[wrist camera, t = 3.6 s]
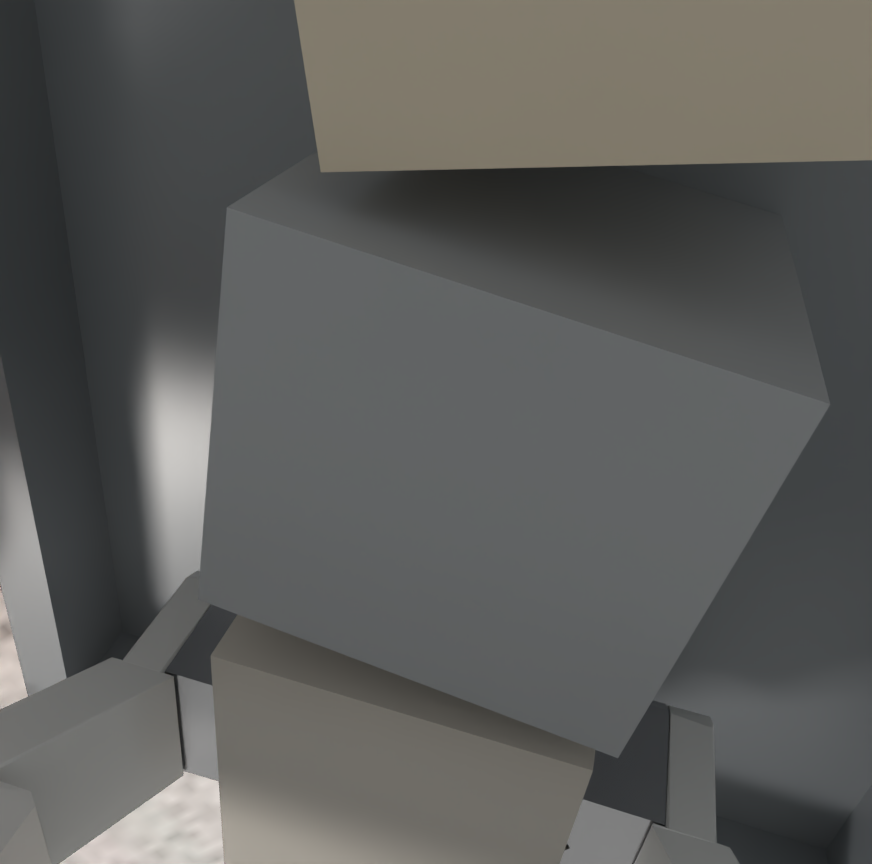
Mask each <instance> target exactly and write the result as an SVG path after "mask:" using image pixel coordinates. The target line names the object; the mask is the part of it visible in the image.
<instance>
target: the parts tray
mask: <svg viewBox="0 0 872 864" xmlns="http://www.w3.org/2000/svg"><path fill="white" fill-rule="evenodd" d="M316 151H317V145H316V138H315V132H314V126H313V119H312V113H311V106H310V100H309V93H308V87H307V81H306V74H305V68H304V61H303V55H302V48H301V42H300V36H299V29H298V23H297V16H296V10H295V3H294V0H0V585H1V589H2V593H3V597H4V601H5V605H6V609H7V613H8V617H9V621H10V625H11V629H12V633H13V637H14V641H15V645H16V649H17V653H18V657H19V661H20V665H21V669H22V673H23V678H24V682H25V686H26V690H27V694H28V696H30V695H33V694H35V693H37V692H39V691H41V690H43V689H45V688H47V687H50V686H52V685H54V684H56V683H58V682H60V681H62V680H64V679H67V678H69V677H71V676H73V675H75V674H77V673H79V672H81V671H84V670H86V669H88V668H90V667H92V666H94V665H96V664H99V663H101V662H103V661H105V660H107V659H109V658H111V657H113V658H117V659H121V660H123V659H124V658H125V656H126V655H127V654H128V652H129V651H130V650H131V649H132V647H133V646H134V645H135V643H136V642H137V641H138V639H139V638H140V637H141V636H142V634H143V633H144V632H145V630H146V629H147V628H148V626H149V625H150V624H151V623H152V621H153V620H154V619H155V617H156V616H157V615H158V614H159V612H160V611H161V610H162V608H163V607H164V606H165V604H166V603H167V602H168V601H169V599H170V598H171V597H172V595H173V594H174V593H175V591H176V590H177V589H178V588H179V586H180V585H181V584H182V582H183V581H184V580H185V578H187V577H188V576H190V575H191V574H193V573H194V572H196V571H197V570H198V571H200V563H201V550H202V536H203V523H204V509H205V496H206V482H207V469H208V455H209V442H210V428H211V415H212V401H213V388H214V374H215V361H216V347H217V334H218V320H219V307H220V294H221V280H222V267H223V253H224V240H225V226H226V213H227V207H228V206H230V205H231V204H233V203H235V202H236V201H238V200H239V199H241V198H243V197H244V196H246V195H247V194H249V193H251V192H252V191H254V190H255V189H257V188H259V187H260V186H262V185H263V184H265V183H267V182H268V181H270V180H271V179H273V178H275V177H276V176H278V175H279V174H281V173H282V172H284V171H286V170H287V169H289V168H290V167H292V166H294V165H295V164H297V163H298V162H300V161H302V160H303V159H305V158H306V157H308V156H310V155H311V154H313V153H314V152H316ZM621 167H624V168H628V169H631V170H634V171H638V172H641V173H644V174H647V175H651V176H654V177H657V178H661V179H664V180H667V181H670V182H674V183H677V184H680V185H683V186H687V187H690V188H693V189H697V190H700V191H703V192H706V193H710V194H713V195H716V196H719V197H723V198H726V199H729V200H733V201H736V202H739V203H742V204H746V205H749V206H752V207H756V208H759V209H762V210H765V211H769V212H772V213H775V214H778V215H782V218H783V222H784V226H785V230H786V234H787V238H788V242H789V246H790V250H791V253H792V257H793V261H794V265H795V269H796V273H797V277H798V281H799V284H800V288H801V292H802V296H803V300H804V304H805V308H806V312H807V315H808V319H809V323H810V327H811V331H812V335H813V339H814V343H815V347H816V350H817V354H818V358H819V362H820V366H821V370H822V374H823V378H824V381H825V385H826V389H827V393H828V397H829V401H830V406H829V407H828V409H827V411H826V412H825V414H824V416H823V417H822V419H821V421H820V422H819V424H818V426H817V427H816V429H815V431H814V432H813V434H812V436H811V437H810V439H809V441H808V442H807V444H806V446H805V447H804V449H803V451H802V452H801V454H800V456H799V457H798V459H797V461H796V462H795V464H794V466H793V467H792V469H791V471H790V472H789V474H788V476H787V477H786V479H785V481H784V482H783V484H782V486H781V487H780V489H779V491H778V492H777V494H776V496H775V497H774V499H773V501H772V502H771V504H770V506H769V507H768V509H767V511H766V512H765V514H764V516H763V517H762V519H761V521H760V522H759V524H758V526H757V527H756V529H755V531H754V532H753V534H752V536H751V537H750V539H749V541H748V542H747V544H746V546H745V547H744V549H743V551H742V552H741V554H740V556H739V557H738V559H737V561H736V562H735V564H734V566H733V567H732V569H731V571H730V572H729V574H728V576H727V577H726V579H725V581H724V582H723V584H722V586H721V587H720V589H719V591H718V592H717V594H716V596H715V597H714V599H713V601H712V602H711V604H710V606H709V607H708V609H707V611H706V612H705V614H704V616H703V617H702V619H701V621H700V622H699V624H698V626H697V627H696V629H695V631H694V632H693V634H692V636H691V637H690V639H689V641H688V642H687V644H686V646H685V647H684V649H683V651H682V652H681V654H680V656H679V657H678V659H677V661H676V662H675V664H674V666H673V667H672V669H671V671H670V672H669V674H668V676H667V677H666V679H665V681H664V682H663V684H662V686H661V687H660V689H659V691H658V692H657V694H656V696H655V697H654V699H653V700H654V701H657V702H661V703H665V704H666V705H667V706H668V705H670V706H674V707H677V708H681V709H684V710H688V711H691V712H695V713H698V714H702V715H706V716H709V717H710V718H711V720H712V722H713V724H714V754H715V796H716V838H717V843H718V844H721V845H724V846H727V847H730V849H731V850H732V852H733V854H734V855H735V857H736V858H737V860H738V862H739V863H740V864H872V160H857V161H812V162H766V163H721V164H675V165H630V166H621Z"/></svg>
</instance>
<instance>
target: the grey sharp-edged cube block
mask: <svg viewBox="0 0 872 864" xmlns="http://www.w3.org/2000/svg"><path fill="white" fill-rule="evenodd" d="M829 406H830V401H829V397H828V393H827V389H826V385H825V381H824V378H823V374H822V370H821V366H820V362H819V358H818V354H817V350H816V347H815V343H814V339H813V335H812V331H811V327H810V323H809V319H808V315H807V312H806V308H805V304H804V300H803V296H802V292H801V288H800V284H799V281H798V277H797V273H796V269H795V265H794V261H793V257H792V253H791V250H790V246H789V242H788V238H787V234H786V230H785V226H784V222H783V218H782V215H778V214H775V213H772V212H769V211H765V210H762V209H759V208H756V207H752V206H749V205H746V204H742V203H739V202H736V201H733V200H729V199H726V198H723V197H719V196H716V195H713V194H710V193H706V192H703V191H700V190H697V189H693V188H690V187H687V186H683V185H680V184H677V183H674V182H670V181H667V180H664V179H661V178H657V177H654V176H651V175H647V174H644V173H641V172H638V171H634V170H631V169H628V168H624V167H621V166H584V167H539V168H493V169H448V170H402V171H356V172H321V171H320V164H319V158H318V151H316V152H314V153H313V154H311V155H310V156H308V157H306V158H305V159H303V160H302V161H300V162H298V163H297V164H295V165H294V166H292V167H290V168H289V169H287V170H286V171H284V172H282V173H281V174H279V175H278V176H276V177H275V178H273V179H271V180H270V181H268V182H267V183H265V184H263V185H262V186H260V187H259V188H257V189H255V190H254V191H252V192H251V193H249V194H247V195H246V196H244V197H243V198H241V199H239V200H238V201H236V202H235V203H233V204H231V205H230V206H228V207H227V213H226V226H225V240H224V253H223V267H222V280H221V294H220V307H219V320H218V334H217V347H216V361H215V374H214V388H213V401H212V415H211V428H210V442H209V455H208V469H207V482H206V496H205V509H204V523H203V536H202V550H201V563H200V577H199V590H198V600H201V601H203V602H206V603H209V604H211V605H214V606H217V607H219V608H222V609H225V610H227V611H230V612H233V613H235V614H238V615H240V616H243V617H246V618H248V619H251V620H254V621H256V622H259V623H262V624H264V625H267V626H270V627H272V628H275V629H277V630H280V631H283V632H285V633H288V634H291V635H293V636H296V637H299V638H301V639H304V640H307V641H309V642H312V643H314V644H317V645H320V646H322V647H325V648H328V649H330V650H333V651H336V652H338V653H341V654H344V655H346V656H349V657H351V658H354V659H357V660H359V661H362V662H365V663H367V664H370V665H373V666H375V667H378V668H381V669H383V670H386V671H389V672H391V673H394V674H396V675H399V676H402V677H404V678H407V679H410V680H412V681H415V682H418V683H420V684H423V685H426V686H428V687H431V688H433V689H436V690H439V691H441V692H444V693H447V694H449V695H452V696H455V697H457V698H460V699H463V700H465V701H468V702H470V703H473V704H476V705H478V706H481V707H484V708H486V709H489V710H492V711H494V712H497V713H500V714H502V715H505V716H507V717H510V718H513V719H515V720H518V721H521V722H523V723H526V724H529V725H531V726H534V727H537V728H539V729H542V730H544V731H547V732H550V733H552V734H555V735H558V736H560V737H563V738H566V739H568V740H571V741H574V742H576V743H579V744H581V745H584V746H587V747H589V748H592V749H595V750H597V751H600V752H603V753H605V754H608V755H611V756H613V757H616V758H618V757H619V756H620V754H621V752H622V751H623V749H624V747H625V746H626V744H627V742H628V741H629V739H630V737H631V736H632V734H633V732H634V731H635V729H636V727H637V726H638V724H639V722H640V721H641V719H642V717H643V716H644V714H645V712H646V711H647V709H648V707H649V706H650V704H651V702H652V701H653V699H654V697H655V696H656V694H657V692H658V691H659V689H660V687H661V686H662V684H663V682H664V681H665V679H666V677H667V676H668V674H669V672H670V671H671V669H672V667H673V666H674V664H675V662H676V661H677V659H678V657H679V656H680V654H681V652H682V651H683V649H684V647H685V646H686V644H687V642H688V641H689V639H690V637H691V636H692V634H693V632H694V631H695V629H696V627H697V626H698V624H699V622H700V621H701V619H702V617H703V616H704V614H705V612H706V611H707V609H708V607H709V606H710V604H711V602H712V601H713V599H714V597H715V596H716V594H717V592H718V591H719V589H720V587H721V586H722V584H723V582H724V581H725V579H726V577H727V576H728V574H729V572H730V571H731V569H732V567H733V566H734V564H735V562H736V561H737V559H738V557H739V556H740V554H741V552H742V551H743V549H744V547H745V546H746V544H747V542H748V541H749V539H750V537H751V536H752V534H753V532H754V531H755V529H756V527H757V526H758V524H759V522H760V521H761V519H762V517H763V516H764V514H765V512H766V511H767V509H768V507H769V506H770V504H771V502H772V501H773V499H774V497H775V496H776V494H777V492H778V491H779V489H780V487H781V486H782V484H783V482H784V481H785V479H786V477H787V476H788V474H789V472H790V471H791V469H792V467H793V466H794V464H795V462H796V461H797V459H798V457H799V456H800V454H801V452H802V451H803V449H804V447H805V446H806V444H807V442H808V441H809V439H810V437H811V436H812V434H813V432H814V431H815V429H816V427H817V426H818V424H819V422H820V421H821V419H822V417H823V416H824V414H825V412H826V411H827V409H828V407H829Z"/></svg>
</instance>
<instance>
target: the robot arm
mask: <svg viewBox="0 0 872 864" xmlns="http://www.w3.org/2000/svg"><path fill="white" fill-rule="evenodd" d="M199 577H200V571H198V570H197V571H196V572H194V573H193V574H191V575H190V576H188V577H187V578H185V580H184V581H183V582H182V584H181V585H180V586H179V588H178V589H177V590H176V591H175V593H174V594H173V595H172V597H171V598H170V599H169V601H168V602H167V603H166V604H165V606H164V607H163V608H162V610H161V611H160V612H159V614H158V615H157V616H156V617H155V619H154V620H153V621H152V623H151V624H150V625H149V626H148V628H147V629H146V630H145V632H144V633H143V634H142V636H141V637H140V638H139V639H138V641H137V642H136V643H135V645H134V646H133V647H132V649H131V650H130V651H129V652H128V654H127V655H126V656H125V658H124V659H123V660H121V659H117V658H113V657H111V658H109V659H107V660H105V661H103V662H101V663H99V664H96V665H94V666H92V667H90V668H88V669H86V670H84V671H81V672H79V673H77V674H75V675H73V676H71V677H69V678H67V679H64V680H62V681H60V682H58V683H56V684H54V685H52V686H50V687H47V688H45V689H43V690H41V691H39V692H37V693H35V694H33V695H30V696H28V697H26V698H24V699H22V700H20V701H18V702H15V703H13V704H11V705H9V706H7V707H5V708H3V709H1V710H0V864H59V863H60V862H62V861H63V860H65V859H66V858H67V857H69V856H70V855H72V854H73V853H74V852H76V851H77V850H79V849H80V848H81V847H83V846H84V845H86V844H87V843H89V842H90V841H91V840H93V839H94V838H96V837H97V836H98V835H100V834H101V833H103V832H104V831H105V830H107V829H108V828H110V827H111V826H112V825H114V824H115V823H117V822H118V821H120V820H121V819H122V818H124V817H125V816H127V815H128V814H129V813H131V812H132V811H134V810H135V809H136V808H138V807H139V806H141V805H142V804H143V803H145V802H146V801H148V800H149V799H151V798H152V797H153V796H155V795H156V794H158V793H159V792H160V791H162V790H163V789H165V788H166V787H167V786H169V785H170V784H172V783H173V782H175V781H176V780H177V779H179V778H180V777H182V776H183V771H186V772H189V773H193V774H196V775H199V776H203V777H206V778H210V779H213V780H216V781H219V776H218V761H217V746H216V731H215V716H214V701H213V686H212V671H211V654H212V653H213V651H214V650H215V648H216V647H217V645H218V644H219V642H220V640H221V639H222V637H223V636H224V634H225V633H226V631H227V630H228V628H229V627H230V625H231V624H232V622H233V621H234V619H235V617H236V616H237V614H235V613H233V612H230V611H227V610H225V609H222V608H219V607H217V606H214V605H211V604H209V603H206V602H203V601H201V600H198V590H199ZM560 864H740V863H739V862H738V860H737V858H736V857H735V855H734V854H733V852H732V850H731V849H730V847H727V846H724V845H721V844H718V843H717V838H716V796H715V754H714V724H713V722H712V720H711V718H710V717H709V716H706V715H702V714H698V713H695V712H691V711H688V710H684V709H681V708H677V707H674V706H670V705H668V706H667V705H666V704H665V703H661V702H657V701H654V700H653V701H652V702H651V704H650V706H649V707H648V709H647V711H646V712H645V714H644V716H643V717H642V719H641V721H640V722H639V724H638V726H637V727H636V729H635V731H634V732H633V734H632V736H631V737H630V739H629V741H628V742H627V744H626V746H625V747H624V749H623V751H622V752H621V754H620V756H619V757H618V758H616V757H613V756H611V755H608V754H605V753H603V752H600V751H597V750H595V758H594V766H593V772H592V775H591V777H590V780H589V783H588V786H587V789H586V791H585V794H584V797H583V800H582V803H581V805H580V808H579V811H578V814H577V816H576V819H575V822H574V825H573V828H572V830H571V833H570V836H569V839H568V842H567V844H566V847H565V850H564V853H563V855H562V858H561V861H560Z"/></svg>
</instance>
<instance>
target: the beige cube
mask: <svg viewBox="0 0 872 864" xmlns="http://www.w3.org/2000/svg"><path fill="white" fill-rule="evenodd" d="M211 671H212V686H213V701H214V716H215V731H216V746H217V761H218V776H219V791H220V806H221V821H222V836H223V851H224V864H560V861H561V858H562V855H563V853H564V850H565V847H566V844H567V842H568V839H569V836H570V833H571V830H572V828H573V825H574V822H575V819H576V816H577V814H578V811H579V808H580V805H581V803H582V800H583V797H584V794H585V791H586V789H587V786H588V783H589V780H590V777H591V775H592V772H593V766H594V758H595V749H592V748H589V747H587V746H584V745H581V744H579V743H576V742H574V741H571V740H568V739H566V738H563V737H560V736H558V735H555V734H552V733H550V732H547V731H544V730H542V729H539V728H537V727H534V726H531V725H529V724H526V723H523V722H521V721H518V720H515V719H513V718H510V717H507V716H505V715H502V714H500V713H497V712H494V711H492V710H489V709H486V708H484V707H481V706H478V705H476V704H473V703H470V702H468V701H465V700H463V699H460V698H457V697H455V696H452V695H449V694H447V693H444V692H441V691H439V690H436V689H433V688H431V687H428V686H426V685H423V684H420V683H418V682H415V681H412V680H410V679H407V678H404V677H402V676H399V675H396V674H394V673H391V672H389V671H386V670H383V669H381V668H378V667H375V666H373V665H370V664H367V663H365V662H362V661H359V660H357V659H354V658H351V657H349V656H346V655H344V654H341V653H338V652H336V651H333V650H330V649H328V648H325V647H322V646H320V645H317V644H314V643H312V642H309V641H307V640H304V639H301V638H299V637H296V636H293V635H291V634H288V633H285V632H283V631H280V630H277V629H275V628H272V627H270V626H267V625H264V624H262V623H259V622H256V621H254V620H251V619H248V618H246V617H243V616H240V615H238V614H237V616H236V617H235V619H234V621H233V622H232V624H231V625H230V627H229V628H228V630H227V631H226V633H225V634H224V636H223V637H222V639H221V640H220V642H219V644H218V645H217V647H216V648H215V650H214V651H213V653H212V654H211Z"/></svg>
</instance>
